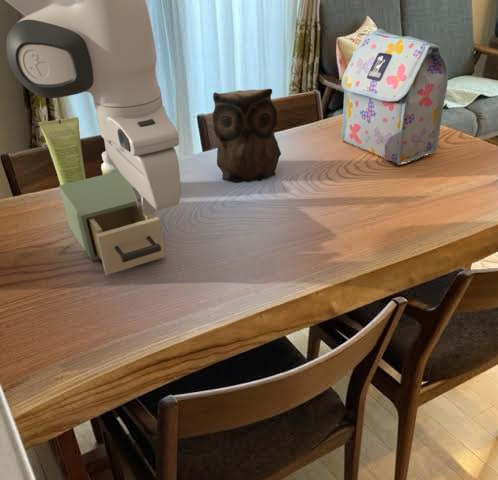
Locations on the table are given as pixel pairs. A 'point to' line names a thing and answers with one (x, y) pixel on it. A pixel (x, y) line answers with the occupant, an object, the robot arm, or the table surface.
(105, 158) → the supplement bottle
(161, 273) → the table surface
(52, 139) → the tube
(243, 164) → the owl
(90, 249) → the cabinet
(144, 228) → the drawer
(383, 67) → the lunch bag
